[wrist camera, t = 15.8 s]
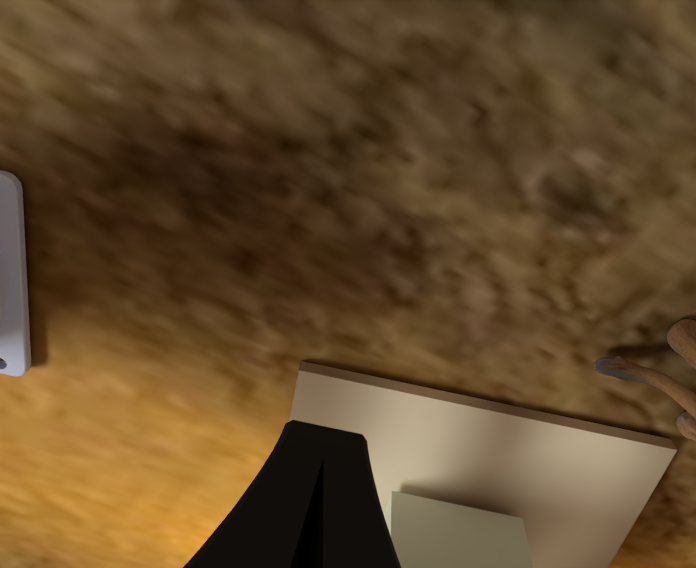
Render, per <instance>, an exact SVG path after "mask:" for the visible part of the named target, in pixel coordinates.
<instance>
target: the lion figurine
mask: <svg viewBox="0 0 696 568" xmlns="http://www.w3.org/2000/svg"><path fill="white" fill-rule="evenodd" d="M667 341H668V343H669V345H670V346H671V348H672V349H673V350H675V351H676V352H677V353H679V354H680V355H681V356H682V357H683V358H684V359H685V360H686V361H687V362H688V363H689V364H690V365H691V366H692V367H693V368H695V369H696V321H695V320H691V319H683V320H680V321H678V322H677V323H675V324H674V325H673V326H672V328H671V329H670V331H669V332H668V334H667ZM594 368H595V370H596V371H597V372H599V373H602V374H605V375H609V376H614V377H617V378H619V379H621V380H625V381H637V382H642V383H646V384H649V385H652V386H654V387H656V388H658V389H660V390H662V391H664V392H665V393H666V394H668V395H669V396H670V397H672V398H673V399H674V400H675V401H677V402H678V403H679V404H680V405H681V406H682V407H683V408H684V409H685V410H686V411H685V412H683V413H682V414H681V415H680V416H679V417H678V418H677V422H676V424H677V427H678V429H679V430H680V432H681V433H682V434H683V436H685V437H686V438H688V439H693V440H694V441H695V442H696V394H694V393H693V392H692V391H691V390H689V389H688V388H687V387H685V386H684V385H683V384H681V383H679V382H678V381H676V380H674V379H672V378H671V377H669V376H667V375H665V374H663V373H661V372H658V371H656V370H653V369H649V368H645V367H642V366H639V365H637V364H634V363H632V362H629V361H627V360H625V359H624V358H622V357H619V356H616V357H613V358H610V357H603V358H601V359H598V360H597V361H596V362H595V365H594Z"/></svg>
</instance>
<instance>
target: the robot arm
mask: <svg viewBox="0 0 696 568" xmlns="http://www.w3.org/2000/svg"><path fill="white" fill-rule="evenodd" d="M0 358H1V359H3V360H4V361H5V362H6V363H4V362H2V361H1V360H0V373H1V374H6V375H11V376H22V375H24V374H25V373H26V372H27V371H28V370H29V369H30V368H31V348H30V328H29V309H28V289H27V269H26V249H25V229H24V209H23V190H22V185H21V183H20V181H19V180H18V178H17V177H16V176H14V175H13V174H11V173H9V172H6V171H2V170H0ZM183 568H401V565H400V562H399V559H398V557H397V554H396V551H395V548H394V545H393V542H392V539H391V536H390V533H389V530H388V527H387V524H386V521H385V518H384V514H383V511H382V507H381V504H380V501H379V497H378V493H377V489H376V485H375V481H374V477H373V473H372V468H371V463H370V458H369V452H368V444H367V440H366V439H365V437H364V436H363V434H359V433H354V432H349V431H344V430H340V429H335V428H330V427H325V426H321V425H316V424H311V423H306V422H302V421H297V420H292V421H290V422H288V423H286V424H285V426H284V429H283V431H282V434H281V436H280V438H279V440H278V442H277V444H276V445H275V447H274V449H273V451H272V452H271V454H270V456H269V458H268V459H267V461H266V462H265V464H264V465H263V467H262V468H261V470H260V472H259V473H258V475H257V476H256V477H255V479H254V480H253V482H252V483H251V484H250V486H249V487H248V489H247V490H246V491H245V493H244V494H243V495H242V497H241V498H240V500H239V501H238V502H237V504H236V505H235V506H234V508H233V509H232V510H231V512H230V513H229V514H228V515H227V517H226V518H225V519H224V520H223V521H222V523H221V524H220V525H219V526H218V528H217V529H216V530H215V531H214V532H213V534H212V535H211V536H210V537H209V538H208V540H207V541H206V542H205V543H204V544H203V546H202V547H201V548H200V549H199V550H198V552H197V553H196V554H195V555H194V556H193V557H192V558H191V559H190V560H189V562H188V563H187V564H186V565H185V566H184V567H183Z"/></svg>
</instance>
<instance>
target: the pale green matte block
mask: <svg viewBox="0 0 696 568" xmlns="http://www.w3.org/2000/svg"><path fill="white" fill-rule="evenodd" d="M384 518H385V521H386V524H387V527H388V530H389V533H390V536H391V539H392V542H393V545H394V548H395V551H396V554H397V557H398V559H399V562H400V565H401V568H534V566H533V562H532V557H531V553H530V549H529V544H528V540H527V536H526V531H525V527H524V523H523V518H519V517H514V516H509V515H504V514H500V513H495V512H490V511H485V510H481V509H476V508H471V507H467V506H462V505H457V504H452V503H448V502H443V501H438V500H433V499H429V498H424V497H419V496H415V495H410V494H405V493H400V492H396V491H391V494H390V497H389V500H388V503H387V506H386V509H385V512H384Z"/></svg>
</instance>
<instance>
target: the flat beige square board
mask: <svg viewBox="0 0 696 568" xmlns="http://www.w3.org/2000/svg"><path fill="white" fill-rule="evenodd" d="M292 420H297V421H302V422H306V423H311V424H316V425H321V426H325V427H330V428H335V429H340V430H344V431H349V432H354V433H359V434H363V436H364V437H365V439H366V440H367V444H368V452H369V458H370V463H371V468H372V473H373V477H374V481H375V485H376V489H377V493H378V497H379V501H380V504H381V507H382V511H383V514H384V512H385V509H386V506H387V503H388V500H389V497H390V494H391V491H396V492H400V493H405V494H410V495H415V496H419V497H424V498H429V499H433V500H438V501H443V502H448V503H452V504H457V505H462V506H467V507H471V508H476V509H481V510H485V511H490V512H495V513H500V514H504V515H509V516H514V517H519V518H523V523H524V527H525V531H526V536H527V540H528V544H529V549H530V553H531V557H532V562H533V566H534V568H608V567H609V565H610V564H611V562H612V560H613V559H614V557H615V555H616V553H617V552H618V550H619V548H620V547H621V545H622V543H623V542H624V540H625V538H626V536H627V535H628V533H629V531H630V530H631V528H632V526H633V525H634V523H635V521H636V519H637V518H638V516H639V514H640V513H641V511H642V509H643V508H644V506H645V504H646V503H647V501H648V499H649V497H650V496H651V494H652V492H653V491H654V489H655V487H656V486H657V484H658V482H659V480H660V479H661V477H662V475H663V474H664V472H665V470H666V469H667V467H668V465H669V463H670V462H671V460H672V458H673V457H674V455H675V453H676V452H677V449H676V447H675V445H674V444H673V442H672V440H671V439H668V438H663V437H659V436H654V435H649V434H645V433H640V432H635V431H630V430H626V429H621V428H616V427H611V426H607V425H602V424H597V423H593V422H588V421H583V420H578V419H574V418H569V417H564V416H559V415H555V414H550V413H545V412H541V411H536V410H531V409H526V408H522V407H517V406H512V405H507V404H503V403H498V402H493V401H488V400H484V399H479V398H474V397H470V396H465V395H460V394H455V393H451V392H446V391H441V390H436V389H432V388H427V387H422V386H418V385H413V384H408V383H403V382H399V381H394V380H389V379H384V378H380V377H375V376H370V375H365V374H361V373H356V372H351V371H347V370H342V369H337V368H332V367H328V366H323V365H318V364H313V363H309V362H304V361H301V364H300V368H299V372H298V377H297V382H296V387H295V393H294V398H293V403H292V408H291V413H290V418H289V422H290V421H292Z"/></svg>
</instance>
